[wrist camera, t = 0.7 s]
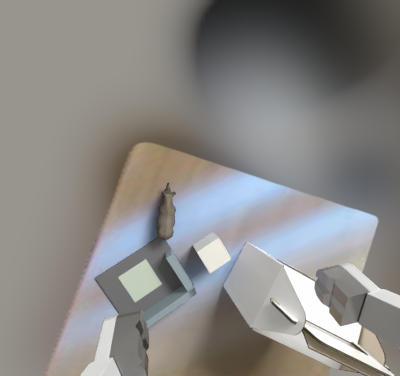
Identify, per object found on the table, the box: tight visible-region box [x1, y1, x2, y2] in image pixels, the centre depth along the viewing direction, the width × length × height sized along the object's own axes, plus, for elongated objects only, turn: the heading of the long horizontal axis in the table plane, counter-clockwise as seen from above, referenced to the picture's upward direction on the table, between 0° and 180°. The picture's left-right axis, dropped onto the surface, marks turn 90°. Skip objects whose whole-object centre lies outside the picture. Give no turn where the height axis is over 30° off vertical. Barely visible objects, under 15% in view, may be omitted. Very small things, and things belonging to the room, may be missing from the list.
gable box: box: [224, 242, 394, 376], centre depth 46 cm, size 22×13×28 cm, turn 60°
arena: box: [95, 237, 197, 328], centre depth 51 cm, size 15×18×5 cm
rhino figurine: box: [157, 182, 176, 240], centre depth 51 cm, size 4×14×6 cm, turn 175°
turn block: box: [193, 232, 231, 273], centre depth 53 cm, size 6×6×6 cm
